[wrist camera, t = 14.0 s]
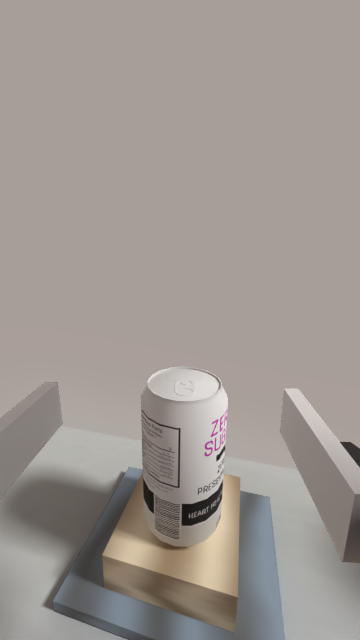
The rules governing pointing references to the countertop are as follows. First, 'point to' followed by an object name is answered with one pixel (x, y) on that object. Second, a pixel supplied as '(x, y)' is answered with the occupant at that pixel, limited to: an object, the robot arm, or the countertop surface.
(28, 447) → the robot arm
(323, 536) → the countertop surface
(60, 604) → the base
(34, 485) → the countertop surface
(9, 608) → the countertop surface
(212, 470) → the supplement can
